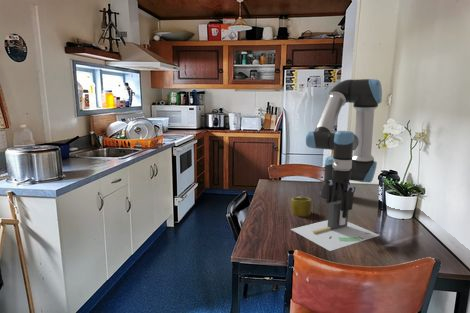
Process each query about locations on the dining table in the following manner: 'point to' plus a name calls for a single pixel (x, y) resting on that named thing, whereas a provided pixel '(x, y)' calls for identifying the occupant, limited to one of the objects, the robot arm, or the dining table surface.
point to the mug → (301, 206)
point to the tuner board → (334, 235)
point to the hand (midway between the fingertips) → (337, 222)
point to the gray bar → (333, 217)
